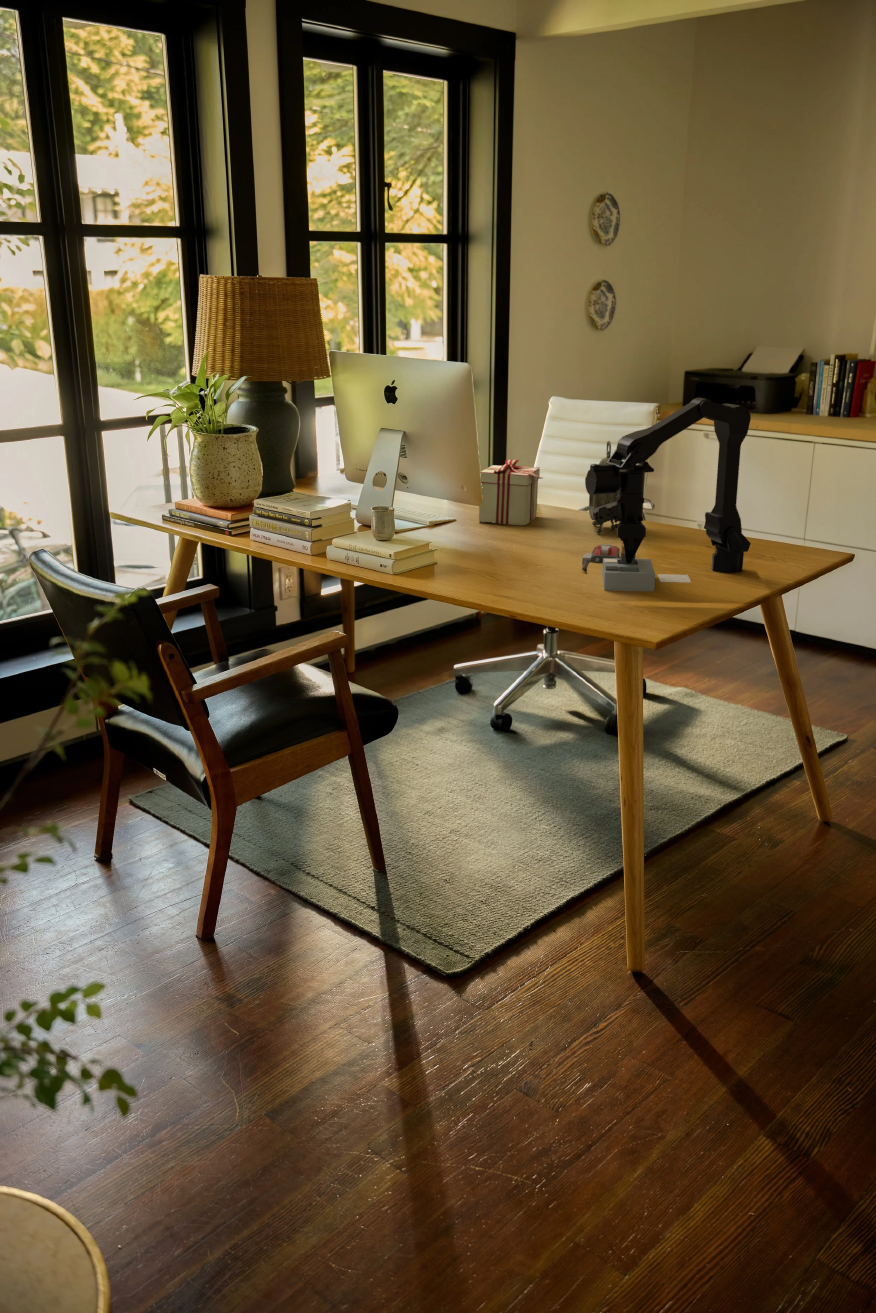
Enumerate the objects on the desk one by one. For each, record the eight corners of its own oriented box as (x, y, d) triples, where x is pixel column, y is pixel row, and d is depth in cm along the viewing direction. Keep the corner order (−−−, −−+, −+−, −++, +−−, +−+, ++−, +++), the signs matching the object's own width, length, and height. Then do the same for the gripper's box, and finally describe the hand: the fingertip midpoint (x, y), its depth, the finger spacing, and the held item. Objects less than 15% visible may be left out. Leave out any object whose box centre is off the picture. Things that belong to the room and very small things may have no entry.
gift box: (539, 526, 313) (541, 467, 307) (477, 524, 317) (477, 465, 311) (548, 515, 328) (549, 458, 323) (488, 513, 332) (488, 456, 327)
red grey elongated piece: (585, 555, 280) (579, 574, 261) (586, 538, 279) (579, 556, 260) (620, 556, 278) (615, 576, 260) (621, 540, 277) (616, 558, 258)
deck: (687, 578, 255) (687, 574, 255) (690, 586, 249) (691, 582, 248) (657, 578, 256) (657, 574, 256) (659, 585, 249) (660, 581, 249)
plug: (633, 577, 253) (635, 543, 250) (634, 580, 250) (635, 546, 247) (619, 576, 253) (621, 543, 251) (620, 580, 250) (621, 546, 248)
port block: (649, 579, 255) (650, 557, 253) (653, 595, 242) (655, 572, 240) (602, 578, 256) (603, 556, 254) (604, 594, 243) (605, 571, 241)
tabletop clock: (588, 525, 314) (591, 437, 306) (619, 525, 314) (623, 437, 306) (592, 535, 301) (596, 444, 293) (625, 535, 300) (630, 444, 292)
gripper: (594, 484, 255) (591, 549, 260) (596, 499, 237) (593, 568, 242) (642, 485, 254) (638, 550, 259) (647, 500, 236) (644, 569, 241)
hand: (627, 559), depth 250 cm, fingers open, 7 cm apart
